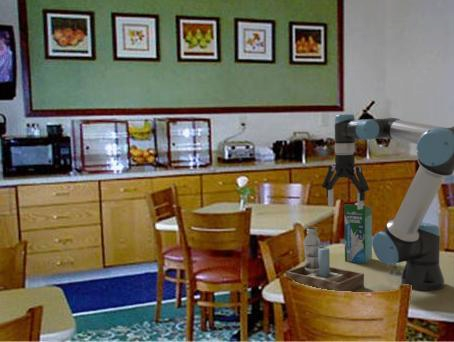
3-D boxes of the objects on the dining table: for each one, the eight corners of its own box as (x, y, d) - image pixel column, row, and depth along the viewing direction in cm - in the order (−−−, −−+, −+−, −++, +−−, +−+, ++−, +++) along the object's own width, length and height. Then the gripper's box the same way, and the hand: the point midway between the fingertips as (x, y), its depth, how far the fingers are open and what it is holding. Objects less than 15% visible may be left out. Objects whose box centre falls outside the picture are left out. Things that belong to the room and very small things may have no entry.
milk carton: (372, 258, 254) (371, 202, 251) (365, 263, 246) (364, 205, 244) (352, 256, 259) (351, 200, 256) (344, 261, 251) (344, 204, 249)
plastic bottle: (315, 282, 221) (314, 230, 219) (300, 279, 226) (299, 228, 224) (324, 278, 226) (324, 228, 224) (310, 276, 231) (309, 226, 229)
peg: (331, 282, 218) (331, 248, 216) (325, 285, 215) (325, 250, 213) (323, 280, 220) (322, 247, 219) (316, 283, 218) (316, 249, 216)
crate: (363, 286, 215) (363, 273, 214) (339, 297, 204) (339, 283, 203) (311, 275, 232) (310, 263, 231) (285, 284, 220) (285, 271, 220)
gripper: (378, 154, 222) (378, 209, 224) (324, 152, 239) (324, 203, 242) (367, 155, 217) (367, 211, 219) (313, 153, 234) (313, 205, 236)
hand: (345, 207), depth 230 cm, fingers open, 13 cm apart
